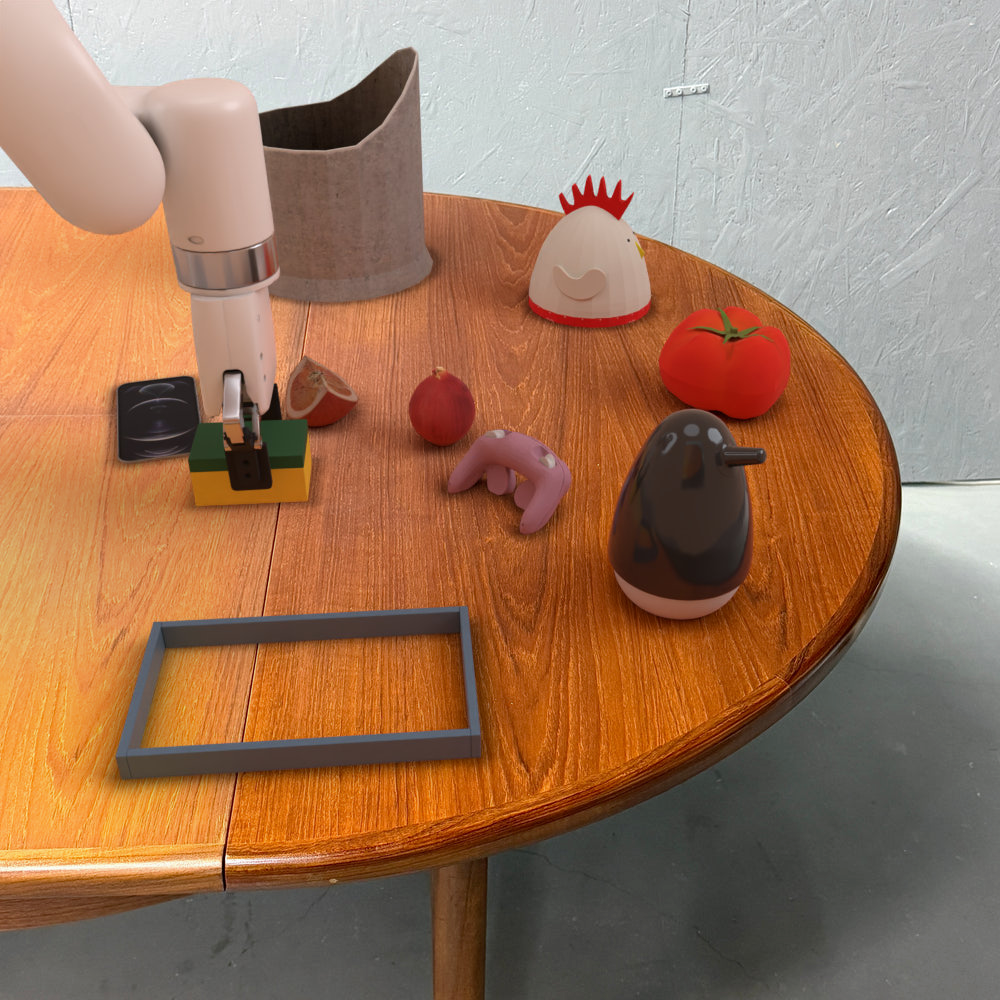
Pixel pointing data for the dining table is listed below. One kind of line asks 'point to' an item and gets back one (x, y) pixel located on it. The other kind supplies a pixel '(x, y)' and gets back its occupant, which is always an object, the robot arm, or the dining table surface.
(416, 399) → the onion
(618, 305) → the kitchen timer
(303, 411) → the fruit slice
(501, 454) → the video game controller
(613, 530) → the pump dispenser
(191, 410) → the smartphone
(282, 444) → the sponge
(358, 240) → the pitcher
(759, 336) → the tomato
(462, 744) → the rectangular frame
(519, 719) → the dining table surface
